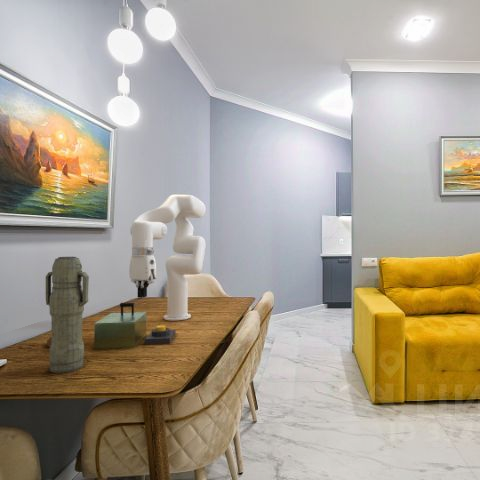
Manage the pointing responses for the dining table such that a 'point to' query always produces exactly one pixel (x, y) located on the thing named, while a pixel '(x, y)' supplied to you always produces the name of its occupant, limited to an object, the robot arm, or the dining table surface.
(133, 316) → the lid
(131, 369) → the dining table surface
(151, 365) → the dining table surface
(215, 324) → the dining table surface
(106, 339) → the green box
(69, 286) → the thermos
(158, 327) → the button
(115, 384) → the dining table surface
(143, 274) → the robot arm
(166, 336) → the control box
